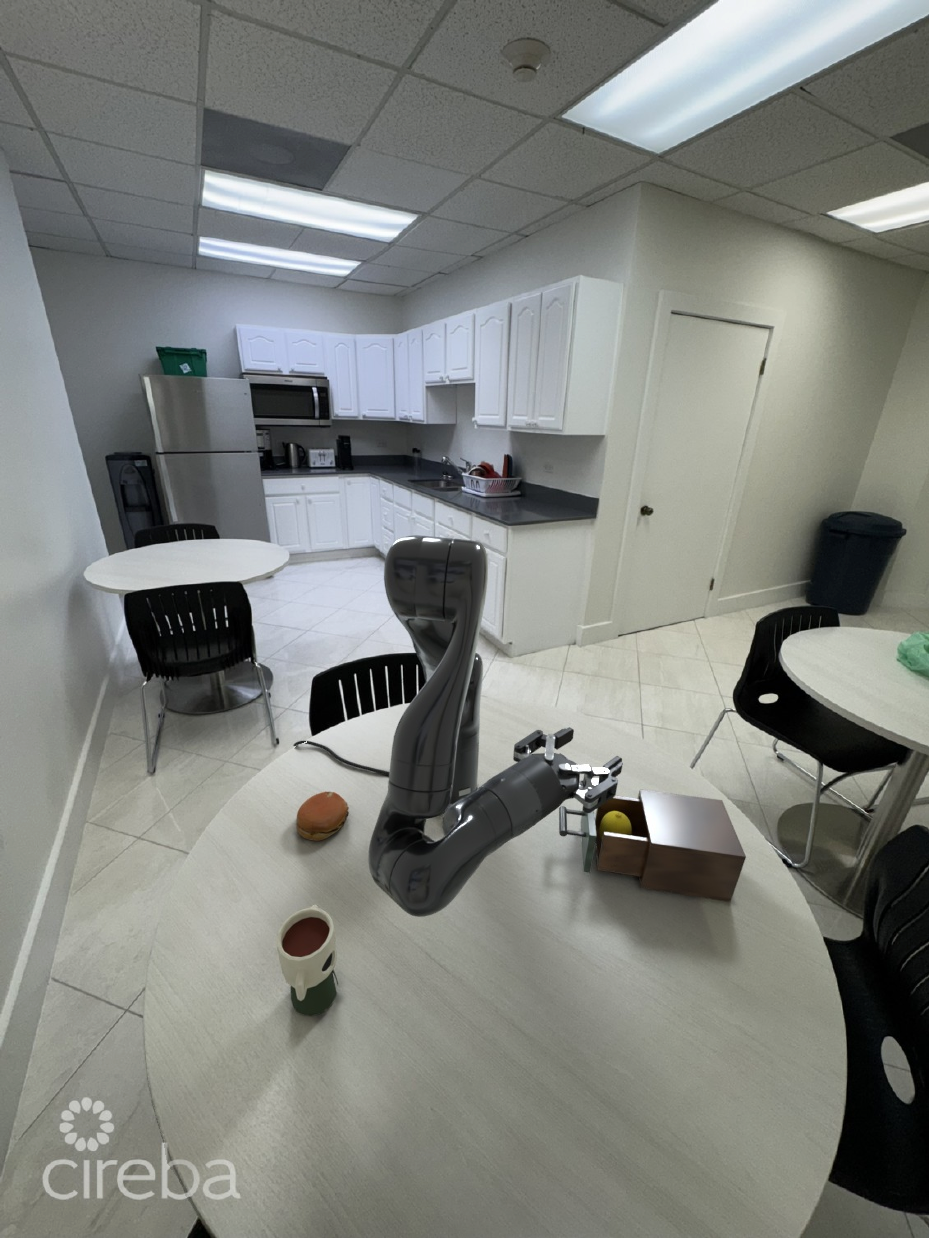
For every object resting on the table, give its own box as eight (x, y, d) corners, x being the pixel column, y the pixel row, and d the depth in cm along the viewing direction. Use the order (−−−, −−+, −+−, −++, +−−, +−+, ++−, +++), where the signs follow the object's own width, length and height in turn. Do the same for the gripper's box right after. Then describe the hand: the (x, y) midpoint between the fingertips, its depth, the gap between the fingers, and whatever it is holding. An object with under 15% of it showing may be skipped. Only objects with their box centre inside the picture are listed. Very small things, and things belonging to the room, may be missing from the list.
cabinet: (640, 887, 85) (651, 842, 81) (630, 831, 96) (639, 789, 92) (730, 902, 83) (746, 856, 78) (709, 842, 94) (722, 799, 90)
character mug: (335, 1037, 64) (326, 974, 59) (279, 1042, 63) (265, 979, 58) (346, 952, 74) (339, 892, 69) (297, 955, 73) (287, 895, 68)
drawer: (556, 867, 87) (561, 830, 84) (556, 819, 98) (560, 784, 94) (663, 884, 85) (673, 847, 81) (651, 832, 95) (659, 797, 91)
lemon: (623, 835, 93) (629, 802, 90) (631, 860, 88) (638, 826, 85) (593, 834, 93) (599, 801, 90) (600, 858, 88) (606, 825, 85)
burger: (293, 844, 92) (291, 825, 90) (301, 807, 100) (299, 789, 98) (348, 839, 93) (346, 820, 91) (351, 803, 101) (349, 785, 100)
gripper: (564, 807, 56) (641, 750, 66) (481, 746, 66) (559, 704, 76) (558, 854, 59) (633, 793, 69) (479, 789, 69) (554, 743, 79)
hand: (594, 746), depth 73 cm, fingers open, 8 cm apart
